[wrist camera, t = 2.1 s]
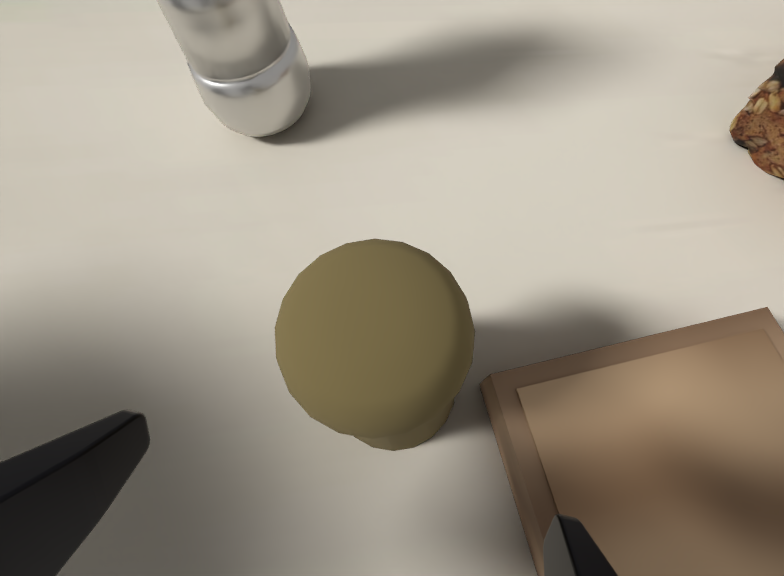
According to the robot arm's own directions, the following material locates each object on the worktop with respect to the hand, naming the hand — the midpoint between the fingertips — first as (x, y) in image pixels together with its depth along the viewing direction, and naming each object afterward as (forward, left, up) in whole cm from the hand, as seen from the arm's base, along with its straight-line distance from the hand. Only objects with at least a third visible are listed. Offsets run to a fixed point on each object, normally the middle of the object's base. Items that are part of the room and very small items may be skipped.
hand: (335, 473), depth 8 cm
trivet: (-4, -11, -10) cm, 16 cm away
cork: (+3, -1, -11) cm, 11 cm away
